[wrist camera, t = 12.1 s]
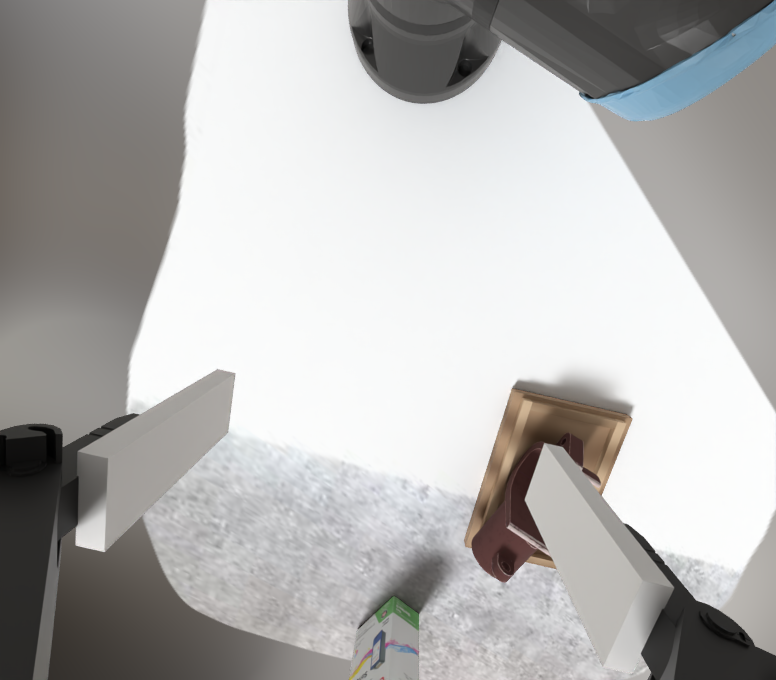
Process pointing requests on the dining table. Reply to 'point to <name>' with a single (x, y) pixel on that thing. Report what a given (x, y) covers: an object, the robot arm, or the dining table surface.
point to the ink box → (387, 645)
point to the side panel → (547, 424)
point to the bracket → (519, 516)
